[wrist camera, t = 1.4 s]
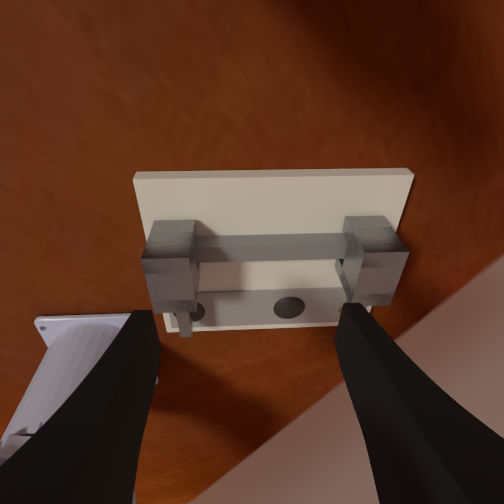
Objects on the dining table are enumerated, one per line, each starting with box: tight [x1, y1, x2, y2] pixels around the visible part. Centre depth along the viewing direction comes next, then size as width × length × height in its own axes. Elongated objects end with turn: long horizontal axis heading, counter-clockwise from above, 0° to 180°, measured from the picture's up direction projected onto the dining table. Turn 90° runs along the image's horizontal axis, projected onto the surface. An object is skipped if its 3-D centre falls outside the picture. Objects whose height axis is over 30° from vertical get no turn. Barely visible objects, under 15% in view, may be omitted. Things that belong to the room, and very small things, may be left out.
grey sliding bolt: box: [335, 215, 410, 315], centre depth 21 cm, size 8×2×4 cm, turn 179°
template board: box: [133, 168, 414, 332], centre depth 23 cm, size 13×16×2 cm
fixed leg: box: [141, 220, 201, 337], centre depth 21 cm, size 8×2×4 cm, turn 179°
